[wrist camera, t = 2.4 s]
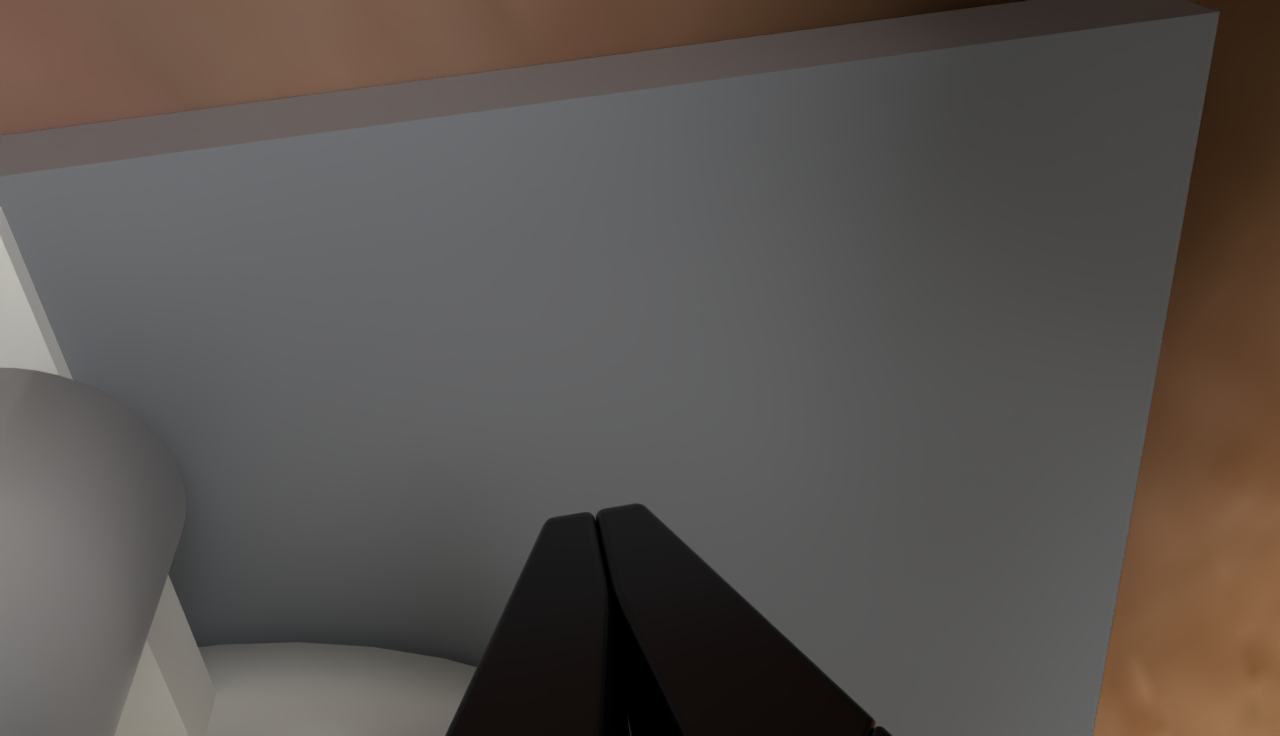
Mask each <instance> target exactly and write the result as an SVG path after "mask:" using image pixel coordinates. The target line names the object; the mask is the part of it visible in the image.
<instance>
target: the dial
mask: <svg viewBox="0 0 1280 736" xmlns="http://www.w3.org/2000/svg"><path fill="white" fill-rule="evenodd" d="M185 518H186V496H185V488H184V484H183V481H182V477H181V474H180V471H179V469H178V467H177V465H176V462H175V460H174V458H173V456H172V455H171V453H170V452H169V450H168V448H167V447H166V445H165V444H164V442H163V441H162V440H161V439H160V437H159V436H158V435H157V434H156V433H155V432H154V430H153V429H152V428H151V427H150V426H149V425H148V424H147V423H145V422H144V421H143V420H142V419H141V418H140V417H139V416H138V415H137V414H135V413H134V412H133V411H131V410H130V409H129V408H127V407H126V406H124V405H123V404H122V403H120V402H119V401H117V400H115V399H113V398H112V397H110V396H108V395H106V394H105V393H103V392H101V391H99V390H97V389H94V388H92V387H90V386H88V385H85V384H83V383H81V382H78V381H75V380H72V379H69V378H66V377H63V376H60V375H55V374H51V373H46V372H41V371H37V370H28V369H20V368H0V736H445V735H446V732H447V730H448V728H449V726H450V724H451V722H452V720H453V717H454V715H455V713H456V711H457V709H458V707H459V705H460V702H461V700H462V698H463V696H464V694H465V692H466V690H467V687H468V685H469V683H470V681H471V679H472V677H473V675H474V672H475V670H476V668H477V667H474V666H470V665H467V664H463V663H459V662H455V661H452V660H448V659H444V658H438V657H432V656H426V655H420V654H414V653H408V652H402V651H395V650H389V649H383V648H377V647H367V646H351V645H335V644H320V643H304V642H286V643H254V644H222V645H213V646H205V647H198V646H197V644H196V641H195V639H194V636H193V634H192V632H191V629H190V627H189V624H188V622H187V619H186V617H185V614H184V612H183V609H182V607H181V604H180V602H179V599H178V597H177V595H176V592H175V590H174V587H173V585H172V582H171V580H170V577H169V575H168V573H169V570H170V567H171V564H172V561H173V558H174V555H175V552H176V549H177V546H178V543H179V540H180V537H181V534H182V531H183V527H184V522H185Z"/></svg>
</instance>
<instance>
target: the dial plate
mask: <svg viewBox="0 0 1280 736" xmlns="http://www.w3.org/2000/svg"><path fill="white" fill-rule="evenodd" d="M1219 14H1220V11H1217V10H1214V9H1211V8H1208V7H1205V6H1202V5H1199V4H1196V3H1193V2H1190V1H1187V0H1027V1H1019V2H1012V3H1004V4H997V5H989V6H982V7H974V8H966V9H959V10H951V11H944V12H936V13H928V14H921V15H913V16H906V17H898V18H890V19H883V20H875V21H868V22H860V23H852V24H845V25H837V26H830V27H822V28H814V29H807V30H799V31H792V32H784V33H777V34H769V35H761V36H754V37H746V38H739V39H731V40H723V41H716V42H708V43H701V44H693V45H685V46H678V47H670V48H663V49H655V50H647V51H640V52H632V53H625V54H617V55H609V56H602V57H594V58H587V59H579V60H571V61H564V62H556V63H549V64H541V65H534V66H526V67H518V68H511V69H503V70H496V71H488V72H480V73H473V74H465V75H458V76H450V77H442V78H435V79H427V80H420V81H412V82H404V83H397V84H389V85H382V86H374V87H366V88H359V89H351V90H344V91H336V92H329V93H321V94H313V95H306V96H298V97H291V98H283V99H275V100H268V101H260V102H253V103H245V104H237V105H230V106H222V107H215V108H207V109H199V110H192V111H184V112H177V113H169V114H161V115H154V116H146V117H139V118H131V119H124V120H116V121H108V122H101V123H93V124H86V125H78V126H70V127H63V128H55V129H48V130H40V131H32V132H25V133H17V134H10V135H2V136H0V368H20V369H28V370H37V371H41V372H46V373H51V374H55V375H60V376H63V377H66V378H69V379H72V380H75V381H78V382H81V383H83V384H85V385H88V386H90V387H92V388H94V389H97V390H99V391H101V392H103V393H105V394H106V395H108V396H110V397H112V398H113V399H115V400H117V401H119V402H120V403H122V404H123V405H124V406H126V407H127V408H129V409H130V410H131V411H133V412H134V413H135V414H137V415H138V416H139V417H140V418H141V419H142V420H143V421H144V422H145V423H147V424H148V425H149V426H150V427H151V428H152V429H153V430H154V432H155V433H156V434H157V435H158V436H159V437H160V439H161V440H162V441H163V442H164V444H165V445H166V447H167V448H168V450H169V452H170V453H171V455H172V456H173V458H174V460H175V462H176V465H177V467H178V469H179V471H180V474H181V477H182V481H183V484H184V488H185V496H186V518H185V522H184V527H183V531H182V534H181V537H180V540H179V543H178V546H177V549H176V552H175V555H174V558H173V561H172V564H171V567H170V570H169V573H168V575H169V577H170V580H171V582H172V585H173V587H174V590H175V592H176V595H177V597H178V599H179V602H180V604H181V607H182V609H183V612H184V614H185V617H186V619H187V622H188V624H189V627H190V629H191V632H192V634H193V636H194V639H195V641H196V644H197V646H198V647H205V646H213V645H222V644H254V643H286V642H304V643H320V644H335V645H351V646H367V647H377V648H383V649H389V650H395V651H402V652H408V653H414V654H420V655H426V656H432V657H438V658H444V659H448V660H452V661H455V662H459V663H463V664H467V665H470V666H474V667H477V666H478V664H479V662H480V660H481V657H482V655H483V653H484V651H485V649H486V647H487V645H488V642H489V640H490V638H491V636H492V634H493V632H494V630H495V627H496V625H497V623H498V621H499V619H500V617H501V615H502V612H503V610H504V608H505V606H506V604H507V602H508V600H509V597H510V595H511V593H512V591H513V589H514V587H515V584H516V582H517V580H518V578H519V576H520V574H521V572H522V569H523V567H524V565H525V563H526V561H527V559H528V557H529V554H530V552H531V550H532V548H533V546H534V544H535V542H536V539H537V537H538V535H539V533H540V531H541V529H542V527H543V525H544V523H545V522H546V521H547V520H548V519H549V518H552V517H557V516H563V515H569V514H574V513H580V512H590V513H592V514H593V516H594V517H595V520H596V514H597V512H598V511H599V510H601V509H604V508H610V507H616V506H622V505H628V504H634V503H640V504H642V505H644V506H646V507H647V508H648V509H649V510H650V511H651V512H652V513H653V514H654V515H655V516H656V517H658V518H659V519H660V520H661V521H662V522H663V523H664V524H665V525H666V526H667V527H668V528H669V529H670V530H672V531H673V532H674V533H675V534H676V535H677V536H678V537H679V538H680V539H681V540H682V541H683V542H684V543H686V544H687V545H688V546H689V547H690V548H691V549H692V550H693V551H694V552H695V553H696V554H697V555H698V556H699V557H701V558H702V559H703V560H704V561H705V562H706V563H707V564H708V565H709V566H710V567H711V568H712V569H713V570H715V571H716V572H717V573H718V574H719V575H720V576H721V577H722V578H723V579H724V580H725V581H726V582H727V583H729V584H730V585H731V586H732V587H733V588H734V589H735V590H736V591H737V592H738V593H739V594H740V595H741V596H742V597H744V598H745V599H746V600H747V601H748V602H749V603H750V604H751V605H752V606H753V607H754V608H755V609H756V610H758V611H759V612H760V613H761V614H762V615H763V616H764V617H765V618H766V619H767V620H768V621H769V622H770V623H772V624H773V625H774V626H775V627H776V628H777V629H778V630H779V631H780V632H781V633H782V634H783V635H784V636H785V637H787V638H788V639H789V640H790V641H791V642H792V643H793V644H794V645H795V646H796V647H797V648H798V649H799V650H801V651H802V652H803V653H804V654H805V655H806V656H807V657H808V658H809V659H810V660H811V661H812V662H813V663H815V664H816V665H817V666H818V667H819V668H820V669H821V670H822V671H823V672H824V673H825V674H826V675H827V676H829V677H830V678H831V679H832V680H833V681H834V682H835V683H836V684H837V685H838V686H839V687H840V688H841V689H842V690H844V691H845V692H846V693H847V694H848V695H849V696H850V697H851V698H852V699H853V700H854V701H855V702H856V703H858V704H859V705H860V706H861V707H862V708H863V709H864V710H865V711H866V712H867V713H868V714H869V715H870V716H872V717H873V718H874V720H875V721H876V727H877V726H882V727H884V728H885V729H886V730H887V731H888V732H889V733H890V734H891V735H892V736H1093V731H1094V726H1095V720H1096V714H1097V708H1098V703H1099V697H1100V691H1101V686H1102V680H1103V674H1104V669H1105V663H1106V657H1107V652H1108V646H1109V640H1110V635H1111V629H1112V623H1113V617H1114V612H1115V606H1116V600H1117V595H1118V589H1119V583H1120V578H1121V572H1122V566H1123V561H1124V555H1125V549H1126V543H1127V538H1128V532H1129V526H1130V521H1131V515H1132V509H1133V504H1134V498H1135V492H1136V487H1137V481H1138V475H1139V469H1140V464H1141V458H1142V452H1143V447H1144V441H1145V435H1146V430H1147V424H1148V418H1149V413H1150V407H1151V401H1152V395H1153V390H1154V384H1155V378H1156V373H1157V367H1158V361H1159V356H1160V350H1161V344H1162V339H1163V333H1164V327H1165V321H1166V316H1167V310H1168V304H1169V299H1170V293H1171V287H1172V282H1173V276H1174V270H1175V265H1176V259H1177V253H1178V248H1179V242H1180V236H1181V230H1182V225H1183V219H1184V213H1185V208H1186V202H1187V196H1188V191H1189V185H1190V179H1191V174H1192V168H1193V162H1194V156H1195V151H1196V145H1197V139H1198V134H1199V128H1200V122H1201V117H1202V111H1203V105H1204V100H1205V94H1206V88H1207V82H1208V77H1209V71H1210V65H1211V60H1212V54H1213V48H1214V43H1215V37H1216V31H1217V26H1218V20H1219ZM629 730H630V728H629ZM630 736H631V734H630Z"/></svg>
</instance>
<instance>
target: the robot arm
mask: <svg viewBox="0 0 1280 736" xmlns="http://www.w3.org/2000/svg"><path fill="white" fill-rule="evenodd" d="M629 728H630V730H629ZM630 734H631V736H892V735H891V734H890V733H889V732H888V731H887V730H886V729H885V728H884V727H882V726H877V727H876V721H875V720H874V718H873V717H872V716H870V715H869V714H868V713H867V712H866V711H865V710H864V709H863V708H862V707H861V706H860V705H859V704H858V703H856V702H855V701H854V700H853V699H852V698H851V697H850V696H849V695H848V694H847V693H846V692H845V691H844V690H842V689H841V688H840V687H839V686H838V685H837V684H836V683H835V682H834V681H833V680H832V679H831V678H830V677H829V676H827V675H826V674H825V673H824V672H823V671H822V670H821V669H820V668H819V667H818V666H817V665H816V664H815V663H813V662H812V661H811V660H810V659H809V658H808V657H807V656H806V655H805V654H804V653H803V652H802V651H801V650H799V649H798V648H797V647H796V646H795V645H794V644H793V643H792V642H791V641H790V640H789V639H788V638H787V637H785V636H784V635H783V634H782V633H781V632H780V631H779V630H778V629H777V628H776V627H775V626H774V625H773V624H772V623H770V622H769V621H768V620H767V619H766V618H765V617H764V616H763V615H762V614H761V613H760V612H759V611H758V610H756V609H755V608H754V607H753V606H752V605H751V604H750V603H749V602H748V601H747V600H746V599H745V598H744V597H742V596H741V595H740V594H739V593H738V592H737V591H736V590H735V589H734V588H733V587H732V586H731V585H730V584H729V583H727V582H726V581H725V580H724V579H723V578H722V577H721V576H720V575H719V574H718V573H717V572H716V571H715V570H713V569H712V568H711V567H710V566H709V565H708V564H707V563H706V562H705V561H704V560H703V559H702V558H701V557H699V556H698V555H697V554H696V553H695V552H694V551H693V550H692V549H691V548H690V547H689V546H688V545H687V544H686V543H684V542H683V541H682V540H681V539H680V538H679V537H678V536H677V535H676V534H675V533H674V532H673V531H672V530H670V529H669V528H668V527H667V526H666V525H665V524H664V523H663V522H662V521H661V520H660V519H659V518H658V517H656V516H655V515H654V514H653V513H652V512H651V511H650V510H649V509H648V508H647V507H646V506H644V505H642V504H640V503H634V504H628V505H622V506H616V507H610V508H604V509H601V510H599V511H598V512H597V514H596V520H595V517H594V516H593V514H592V513H590V512H580V513H574V514H569V515H563V516H557V517H552V518H549V519H548V520H547V521H546V522H545V523H544V525H543V527H542V529H541V531H540V533H539V535H538V537H537V539H536V542H535V544H534V546H533V548H532V550H531V552H530V554H529V557H528V559H527V561H526V563H525V565H524V567H523V569H522V572H521V574H520V576H519V578H518V580H517V582H516V584H515V587H514V589H513V591H512V593H511V595H510V597H509V600H508V602H507V604H506V606H505V608H504V610H503V612H502V615H501V617H500V619H499V621H498V623H497V625H496V627H495V630H494V632H493V634H492V636H491V638H490V640H489V642H488V645H487V647H486V649H485V651H484V653H483V655H482V657H481V660H480V662H479V664H478V666H477V668H476V670H475V672H474V675H473V677H472V679H471V681H470V683H469V685H468V687H467V690H466V692H465V694H464V696H463V698H462V700H461V702H460V705H459V707H458V709H457V711H456V713H455V715H454V717H453V720H452V722H451V724H450V726H449V728H448V730H447V732H446V735H445V736H630Z"/></svg>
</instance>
